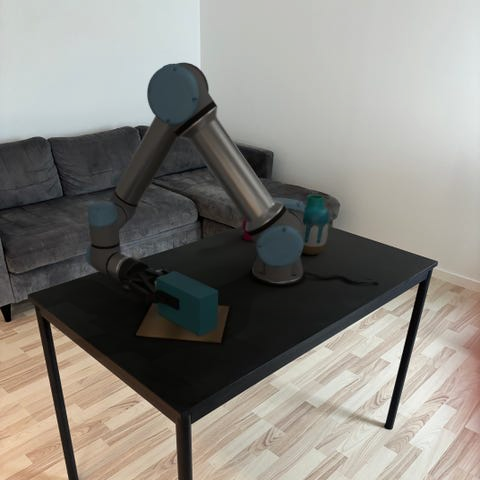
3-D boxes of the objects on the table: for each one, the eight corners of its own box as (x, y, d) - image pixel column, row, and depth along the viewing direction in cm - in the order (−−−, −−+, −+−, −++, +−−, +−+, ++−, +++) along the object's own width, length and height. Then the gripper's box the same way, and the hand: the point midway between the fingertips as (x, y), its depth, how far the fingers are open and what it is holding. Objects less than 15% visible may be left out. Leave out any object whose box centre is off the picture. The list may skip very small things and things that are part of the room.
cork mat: (229, 308, 125) (229, 306, 125) (220, 343, 111) (220, 341, 111) (154, 301, 127) (154, 300, 126) (136, 335, 112) (135, 333, 112)
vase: (290, 246, 165) (296, 191, 155) (320, 247, 166) (328, 191, 156) (296, 259, 156) (302, 200, 146) (328, 259, 156) (336, 201, 147)
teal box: (217, 327, 116) (218, 290, 110) (199, 336, 112) (199, 299, 106) (168, 302, 125) (167, 267, 120) (150, 310, 121) (148, 274, 116)
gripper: (157, 273, 135) (216, 300, 122) (99, 294, 123) (158, 327, 110) (156, 248, 132) (216, 274, 119) (96, 267, 119) (157, 299, 106)
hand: (188, 299), depth 114 cm, fingers closed on teal box, 6 cm apart
